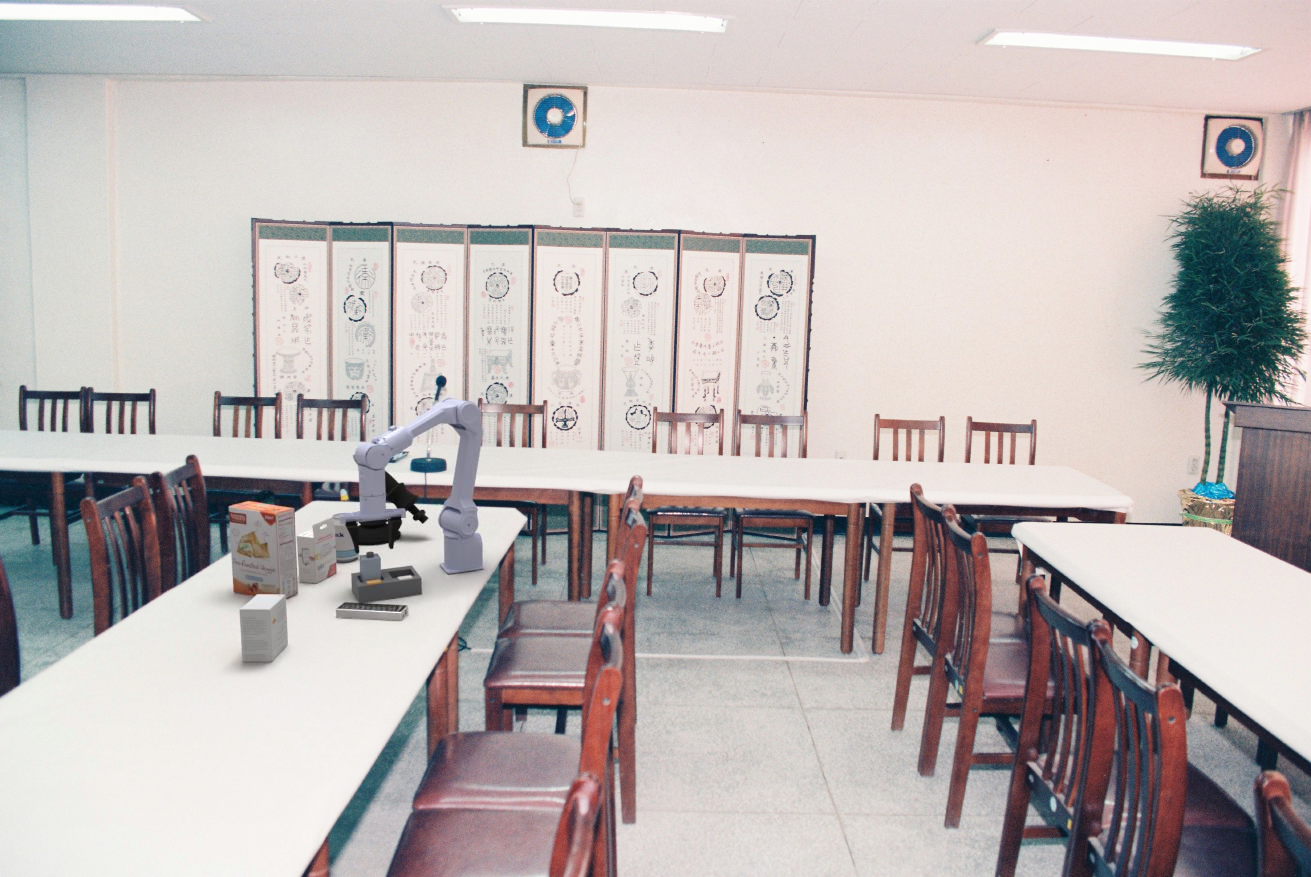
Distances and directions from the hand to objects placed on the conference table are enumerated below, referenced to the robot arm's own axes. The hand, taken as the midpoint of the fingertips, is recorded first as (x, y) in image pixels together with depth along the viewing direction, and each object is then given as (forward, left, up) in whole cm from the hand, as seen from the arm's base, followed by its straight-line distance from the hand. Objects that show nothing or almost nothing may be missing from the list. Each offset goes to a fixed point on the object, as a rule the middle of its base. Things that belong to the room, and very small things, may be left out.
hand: (374, 550), depth 181 cm
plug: (+1, +2, -9) cm, 9 cm away
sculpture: (-11, -41, -10) cm, 44 cm away
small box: (+25, +27, -10) cm, 38 cm away
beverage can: (+3, -26, -10) cm, 28 cm away
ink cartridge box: (+11, -14, -10) cm, 21 cm away
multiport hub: (+3, +16, -10) cm, 19 cm away
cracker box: (+23, -7, -10) cm, 26 cm away
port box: (-2, +3, -10) cm, 10 cm away
